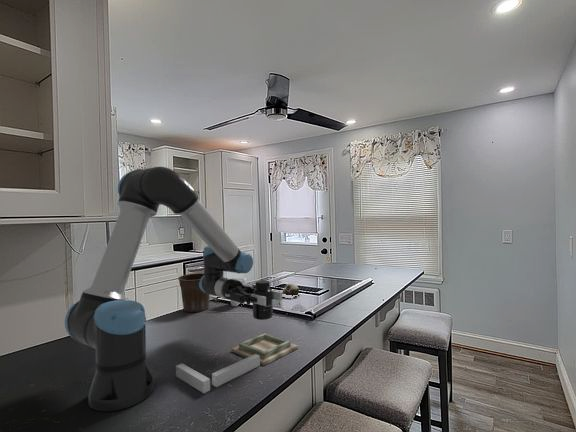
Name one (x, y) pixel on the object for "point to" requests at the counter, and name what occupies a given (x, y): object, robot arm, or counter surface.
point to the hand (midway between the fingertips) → (273, 298)
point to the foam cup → (243, 281)
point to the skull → (291, 289)
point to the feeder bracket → (216, 373)
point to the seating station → (265, 348)
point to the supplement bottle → (266, 311)
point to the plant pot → (193, 293)
